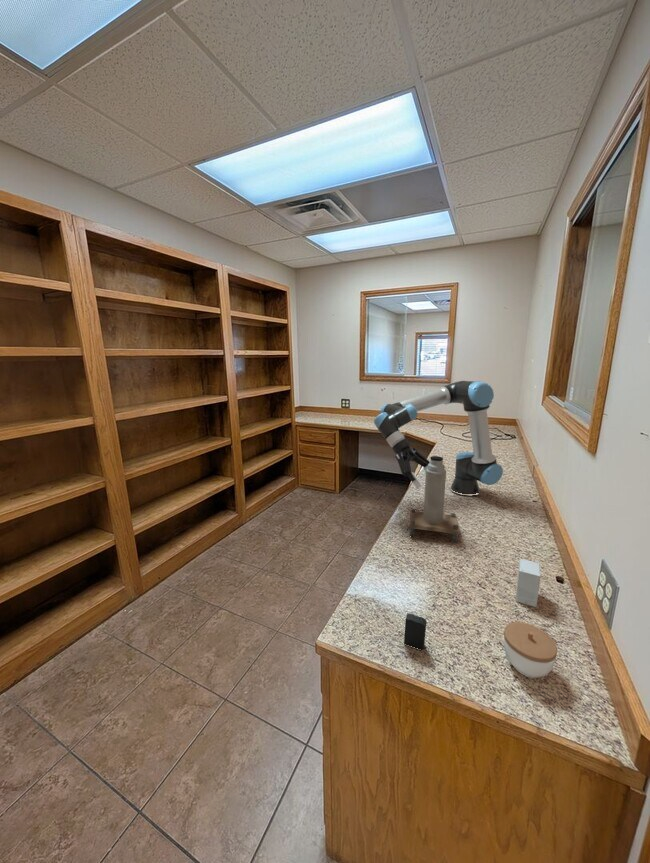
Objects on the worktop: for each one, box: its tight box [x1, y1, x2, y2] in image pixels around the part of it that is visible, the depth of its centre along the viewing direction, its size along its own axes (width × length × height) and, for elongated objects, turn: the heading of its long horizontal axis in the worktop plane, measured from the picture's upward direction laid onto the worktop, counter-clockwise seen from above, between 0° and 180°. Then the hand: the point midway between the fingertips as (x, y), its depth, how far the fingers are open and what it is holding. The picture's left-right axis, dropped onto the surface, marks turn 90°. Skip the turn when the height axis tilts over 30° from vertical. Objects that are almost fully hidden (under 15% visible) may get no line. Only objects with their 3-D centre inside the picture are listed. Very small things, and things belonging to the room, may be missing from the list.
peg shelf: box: [408, 508, 461, 544], centre depth 141 cm, size 20×14×7 cm
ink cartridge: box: [403, 612, 427, 651], centre depth 84 cm, size 5×2×8 cm, turn 65°
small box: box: [515, 558, 542, 608], centre depth 101 cm, size 8×6×10 cm
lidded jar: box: [503, 621, 558, 679], centre depth 78 cm, size 11×11×9 cm
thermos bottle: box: [423, 455, 447, 524], centre depth 138 cm, size 8×8×28 cm
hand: (427, 483), depth 139 cm, fingers open, 13 cm apart
